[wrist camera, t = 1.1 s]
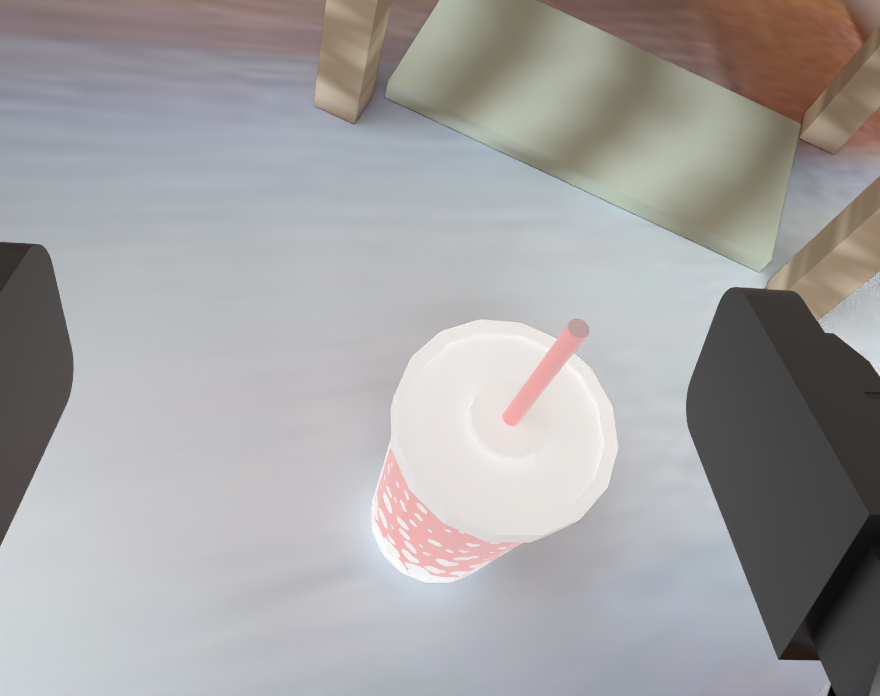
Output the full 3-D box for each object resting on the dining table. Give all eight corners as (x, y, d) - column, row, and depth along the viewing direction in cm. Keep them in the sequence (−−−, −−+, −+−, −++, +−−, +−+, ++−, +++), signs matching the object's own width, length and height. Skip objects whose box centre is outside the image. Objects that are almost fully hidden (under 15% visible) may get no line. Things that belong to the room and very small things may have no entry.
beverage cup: (508, 623, 28) (716, 498, 16) (331, 586, 27) (412, 428, 15) (525, 457, 31) (712, 248, 19) (367, 420, 30) (457, 179, 18)
